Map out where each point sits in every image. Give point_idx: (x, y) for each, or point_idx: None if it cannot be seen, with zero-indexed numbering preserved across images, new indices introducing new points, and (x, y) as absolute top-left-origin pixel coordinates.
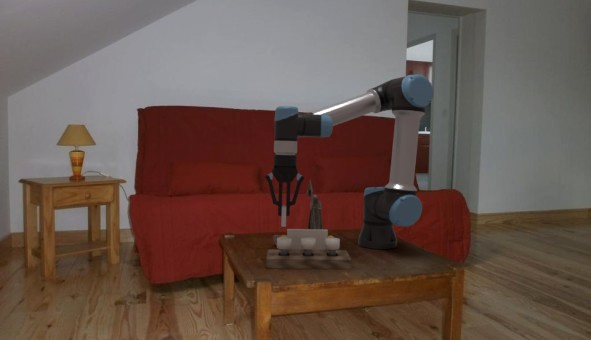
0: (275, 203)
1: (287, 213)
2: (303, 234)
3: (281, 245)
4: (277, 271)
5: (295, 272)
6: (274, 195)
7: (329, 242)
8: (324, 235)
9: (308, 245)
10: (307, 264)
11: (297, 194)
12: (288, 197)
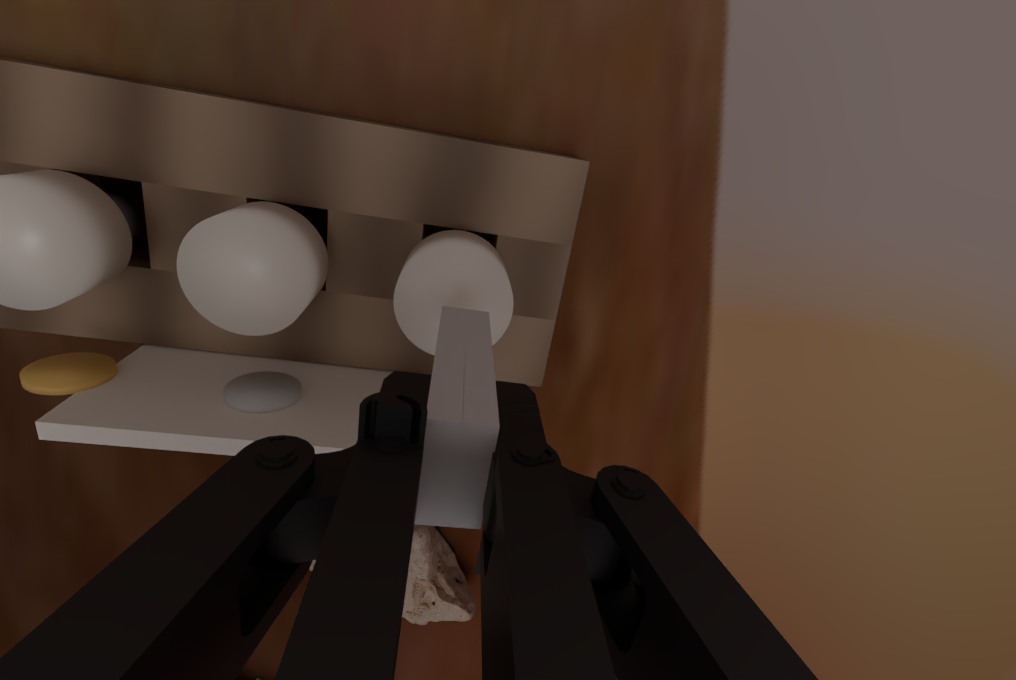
0: (611, 472)
1: (412, 390)
2: (282, 419)
3: (481, 243)
4: (519, 77)
5: (405, 34)
6: (682, 596)
7: (49, 192)
8: (101, 399)
9: (260, 208)
10: (309, 111)
11: (86, 598)
12: (362, 541)
